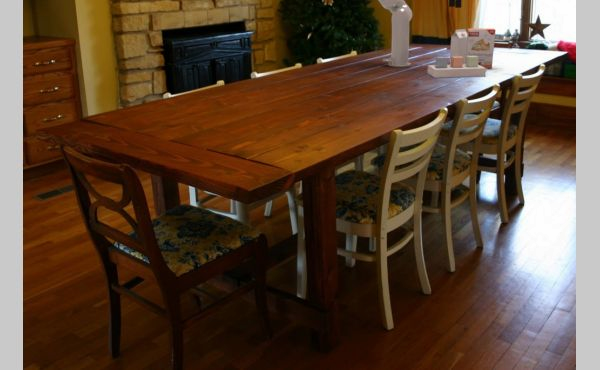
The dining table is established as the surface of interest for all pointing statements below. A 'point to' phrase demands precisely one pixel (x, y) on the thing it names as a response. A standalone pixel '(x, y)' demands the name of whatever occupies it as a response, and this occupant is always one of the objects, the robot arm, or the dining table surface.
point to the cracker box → (481, 45)
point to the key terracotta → (456, 61)
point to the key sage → (472, 61)
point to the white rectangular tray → (456, 71)
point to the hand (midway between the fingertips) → (454, 7)
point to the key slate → (441, 62)
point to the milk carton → (459, 44)
